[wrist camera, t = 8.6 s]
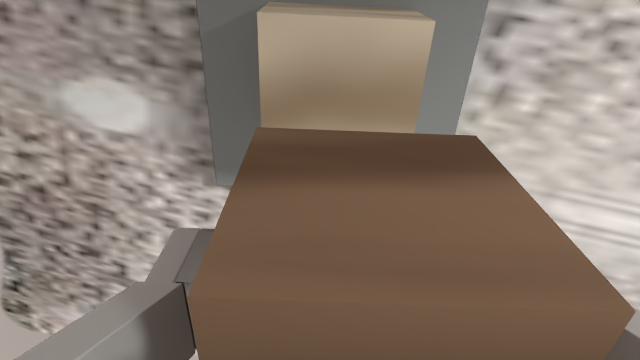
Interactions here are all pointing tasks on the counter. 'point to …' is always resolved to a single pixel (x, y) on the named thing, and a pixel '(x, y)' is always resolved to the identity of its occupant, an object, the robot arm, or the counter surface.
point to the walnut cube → (393, 258)
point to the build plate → (243, 4)
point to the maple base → (342, 66)
